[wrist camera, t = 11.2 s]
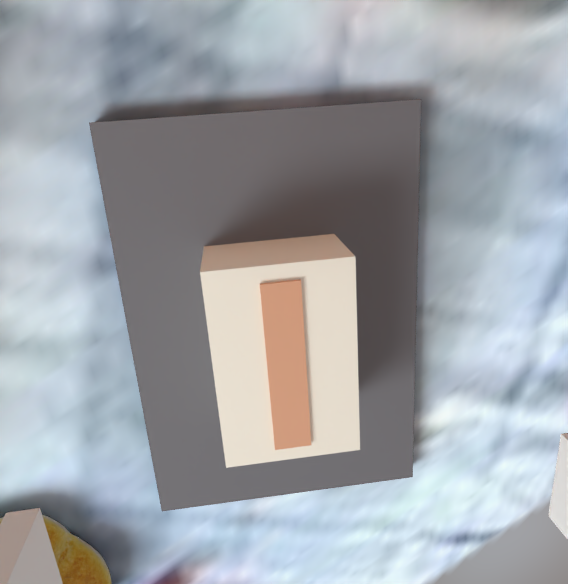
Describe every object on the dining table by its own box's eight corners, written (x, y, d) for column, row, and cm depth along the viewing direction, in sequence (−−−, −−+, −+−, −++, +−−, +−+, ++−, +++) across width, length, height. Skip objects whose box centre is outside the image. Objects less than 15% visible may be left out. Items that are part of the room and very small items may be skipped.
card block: (225, 416, 26) (226, 470, 22) (203, 246, 23) (199, 273, 19) (340, 402, 26) (361, 451, 22) (334, 233, 23) (356, 257, 19)
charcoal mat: (93, 122, 21) (88, 122, 21) (414, 99, 23) (421, 99, 22) (163, 500, 28) (162, 511, 27) (407, 467, 29) (412, 476, 28)
